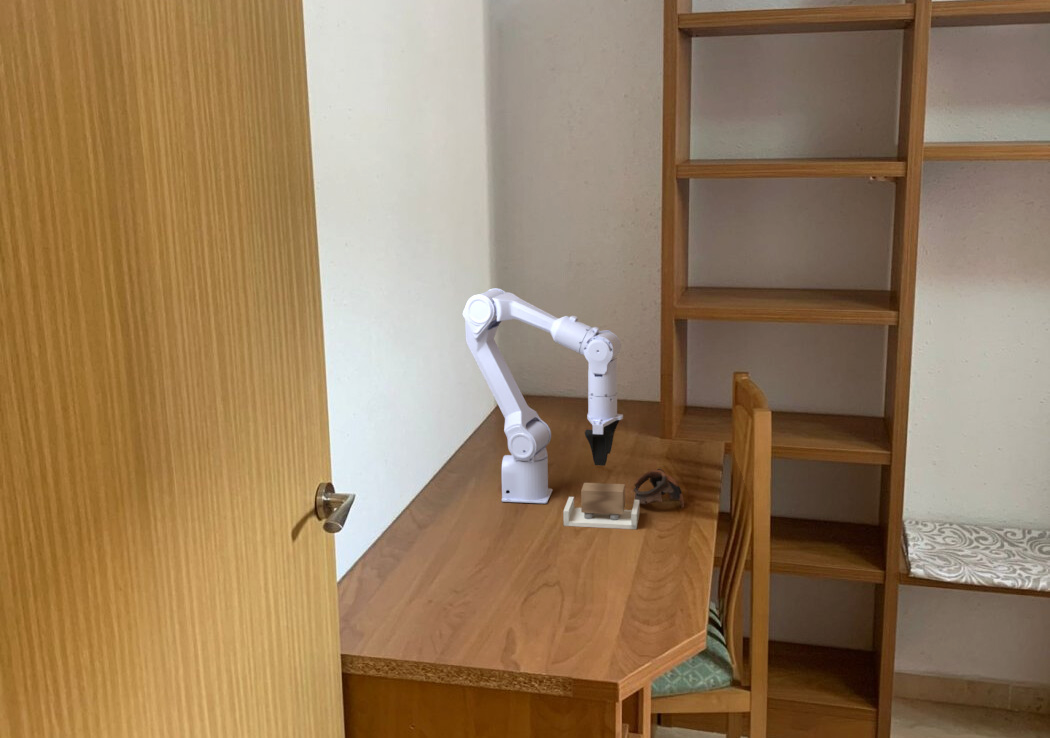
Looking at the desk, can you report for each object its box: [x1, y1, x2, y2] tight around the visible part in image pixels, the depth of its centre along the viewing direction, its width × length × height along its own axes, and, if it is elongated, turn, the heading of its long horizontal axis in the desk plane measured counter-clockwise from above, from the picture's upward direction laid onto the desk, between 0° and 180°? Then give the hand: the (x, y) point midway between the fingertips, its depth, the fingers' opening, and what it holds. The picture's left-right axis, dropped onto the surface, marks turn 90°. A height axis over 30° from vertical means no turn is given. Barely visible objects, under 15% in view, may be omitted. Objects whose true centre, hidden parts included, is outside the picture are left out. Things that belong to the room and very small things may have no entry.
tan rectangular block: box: [580, 482, 626, 514], centre depth 201 cm, size 8×4×4 cm, turn 80°
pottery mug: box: [633, 468, 685, 509], centre depth 210 cm, size 12×10×8 cm
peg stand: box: [562, 496, 640, 530], centre depth 202 cm, size 14×8×3 cm, turn 80°
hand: (602, 458), depth 208 cm, fingers open, 7 cm apart
